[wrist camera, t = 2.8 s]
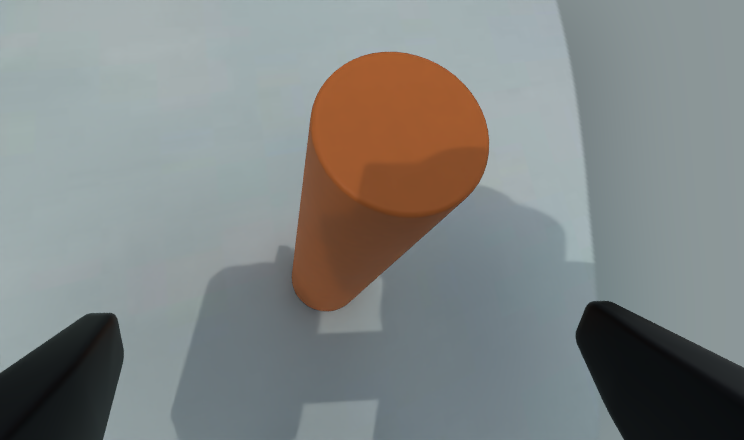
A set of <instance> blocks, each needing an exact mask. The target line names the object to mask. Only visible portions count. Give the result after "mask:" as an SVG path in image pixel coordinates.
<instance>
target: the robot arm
mask: <svg viewBox="0 0 744 440" xmlns="http://www.w3.org/2000/svg"><path fill="white" fill-rule="evenodd" d="M576 342H577V345H578V347H579V349H580V351H581V354H582V356H583V358H584V360H585V362H586V365H587V367H588V369H589V371H590V373H591V376H592V378H593V380H594V382H595V384H596V387H597V389H598V391H599V393H600V395H601V398H602V400H603V402H604V404H605V406H606V408H607V410H608V412H609V414H610V416H611V418H612V419H613V421H614V423H615V425H616V427H617V428H618V430H619V432H620V433H621V435H622V437H623V439H624V440H744V368H743V367H741V366H739V365H737V364H735V363H733V362H731V361H729V360H727V359H725V358H723V357H721V356H719V355H717V354H715V353H713V352H711V351H709V350H707V349H705V348H703V347H701V346H699V345H697V344H695V343H693V342H691V341H689V340H687V339H685V338H683V337H681V336H679V335H677V334H675V333H673V332H671V331H669V330H667V329H665V328H663V327H661V326H659V325H657V324H655V323H653V322H651V321H649V320H647V319H645V318H643V317H641V316H639V315H637V314H635V313H633V312H631V311H629V310H627V309H625V308H623V307H621V306H619V305H617V304H615V303H613V302H609V301H593V302H590V303H589V304H588V305H587V306H586V308H585V310H584V313H583V315H582V318H581V320H580V323H579V325H578V328H577V330H576ZM123 359H124V349H123V344H122V339H121V334H120V329H119V324H118V319H117V317H116V315H114V314H113V313H90V314H86V315H85V316H83V317H81V318H80V319H79V320H77V321H76V322H74V323H73V324H71V325H70V326H68V327H67V328H65V329H64V330H62V331H61V332H60V333H58V334H57V335H55V336H54V337H52V338H51V339H49V340H48V341H46V342H45V343H43V344H42V345H41V346H39V347H38V348H36V349H35V350H33V351H32V352H30V353H29V354H27V355H26V356H24V357H23V358H22V359H20V360H19V361H17V362H16V363H14V364H13V365H11V366H10V367H8V368H7V369H5V370H4V371H3V372H1V373H0V440H103V437H104V433H105V430H106V426H107V422H108V418H109V414H110V410H111V407H112V403H113V399H114V395H115V391H116V387H117V384H118V380H119V376H120V372H121V368H122V364H123Z"/></svg>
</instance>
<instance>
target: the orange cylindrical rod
mask: <svg viewBox="0 0 744 440" xmlns="http://www.w3.org/2000/svg"><path fill="white" fill-rule="evenodd" d="M488 154H489V135H488V129H487V124H486V120H485V118H484V115H483V112H482V110H481V108H480V106H479V104H478V102H477V101H476V99H475V98H474V96H473V95H472V93H471V92H470V91H469V89H468V88H467V87H466V86H465V85H464V84H463V83H462V82H461V81H460V80H459V79H458V78H457V77H456V76H455V75H453V74H452V73H451V72H449V71H448V70H447V69H445V68H443V67H442V66H440V65H438V64H436V63H434V62H432V61H430V60H428V59H425V58H422V57H419V56H416V55H412V54H407V53H400V52H379V53H372V54H368V55H364V56H361V57H359V58H356V59H353V60H352V61H350V62H348V63H346V64H344V65H343V66H342V67H340V68H339V69H338V70H336V71H335V72H334V73H333V74H332V75H331V76H330V77H329V78H328V79H327V80H326V81H325V83H324V84H323V86H322V87H321V88H320V90H319V92H318V94H317V96H316V98H315V101H314V104H313V107H312V112H311V118H310V127H309V135H308V143H307V152H306V160H305V169H304V177H303V186H302V194H301V202H300V211H299V219H298V228H297V236H296V245H295V253H294V261H293V270H292V283H293V287H294V290H295V292H296V294H297V296H298V297H299V298H300V300H301V301H302V302H303V303H305V304H306V305H307V306H309V307H311V308H313V309H316V310H319V311H333V310H337V309H339V308H342V307H343V306H345V305H347V304H348V303H349V302H350V301H351V300H352V299H354V298H355V297H356V296H357V295H358V294H359V293H360V292H361V291H363V290H364V289H365V288H366V287H367V286H368V285H369V284H370V283H372V282H373V281H374V280H375V279H376V278H377V277H378V276H379V275H381V274H382V273H383V272H384V271H385V270H386V269H387V268H388V267H390V266H391V265H392V264H393V263H394V262H395V261H396V260H397V259H398V258H400V257H401V256H402V255H403V254H404V253H405V252H406V251H407V250H409V249H410V248H411V247H412V246H413V245H414V244H415V243H416V242H418V241H419V240H420V239H421V238H422V237H423V236H424V235H425V234H427V233H428V232H429V231H430V230H431V229H432V228H433V227H434V226H436V225H437V224H438V223H439V222H440V221H441V220H442V219H443V218H444V217H446V216H447V215H448V214H449V213H450V212H451V211H452V210H453V209H455V208H456V207H457V206H458V205H459V204H460V203H461V202H462V201H464V200H465V199H466V198H467V197H468V196H469V195H470V194H471V193H472V192H473V190H474V189H475V187H476V186H477V185H478V183H479V182H480V180H481V178H482V176H483V174H484V171H485V168H486V165H487V160H488Z"/></svg>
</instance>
